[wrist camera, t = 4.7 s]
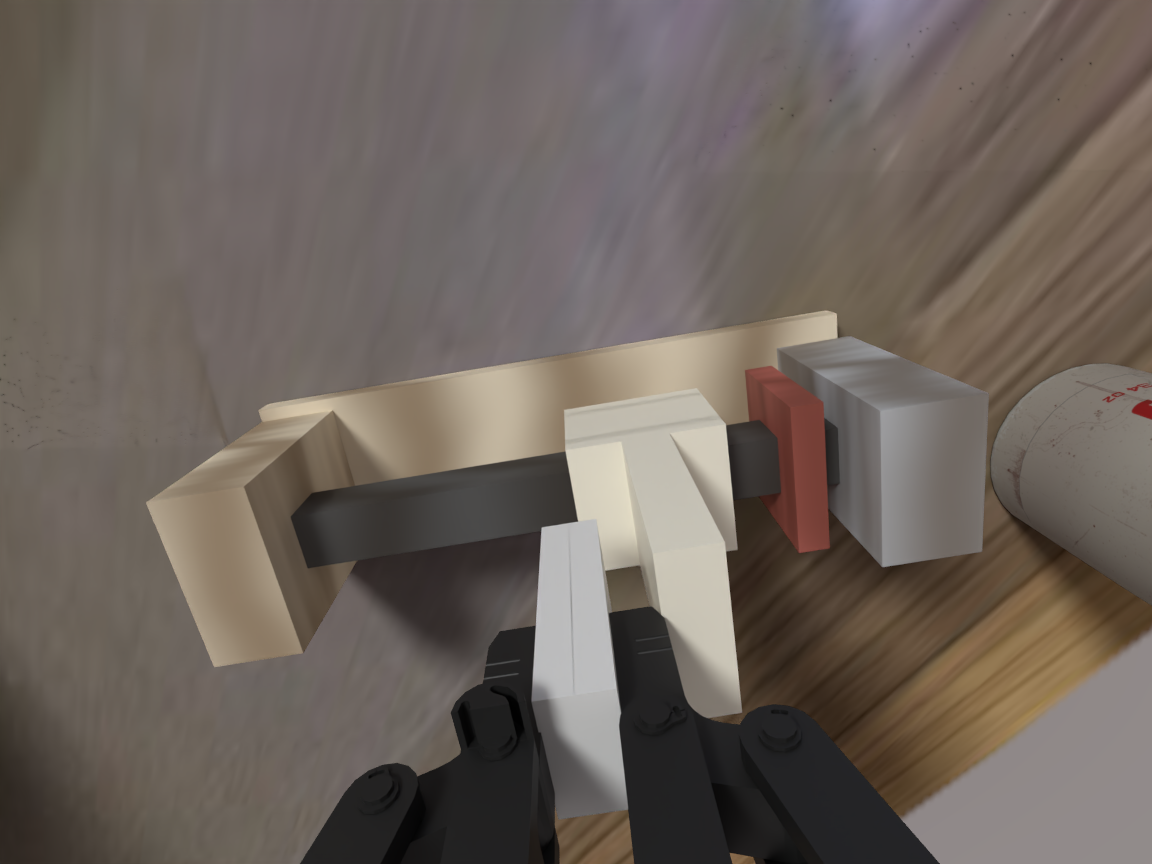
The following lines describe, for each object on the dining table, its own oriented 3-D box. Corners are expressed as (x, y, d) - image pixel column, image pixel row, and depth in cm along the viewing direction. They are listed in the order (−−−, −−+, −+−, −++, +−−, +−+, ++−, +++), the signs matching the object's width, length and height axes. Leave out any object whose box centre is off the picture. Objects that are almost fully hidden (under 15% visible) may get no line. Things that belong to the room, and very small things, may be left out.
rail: (315, 547, 30) (203, 701, 20) (268, 403, 28) (118, 501, 18) (844, 462, 29) (980, 580, 20) (838, 308, 27) (990, 358, 18)
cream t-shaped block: (582, 515, 26) (600, 734, 15) (563, 409, 24) (568, 566, 13) (708, 494, 25) (819, 701, 15) (696, 388, 24) (809, 528, 13)
